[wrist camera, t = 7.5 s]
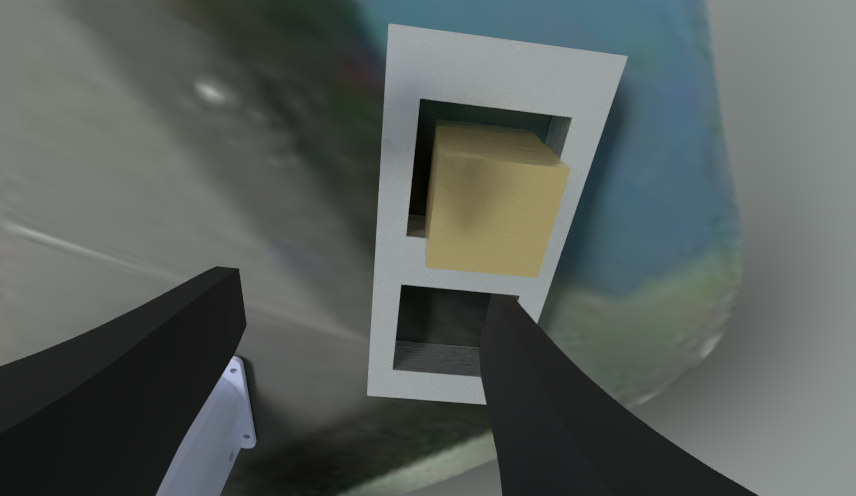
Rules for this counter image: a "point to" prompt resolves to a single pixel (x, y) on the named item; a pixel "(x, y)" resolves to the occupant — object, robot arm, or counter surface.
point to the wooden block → (491, 199)
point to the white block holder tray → (405, 234)
